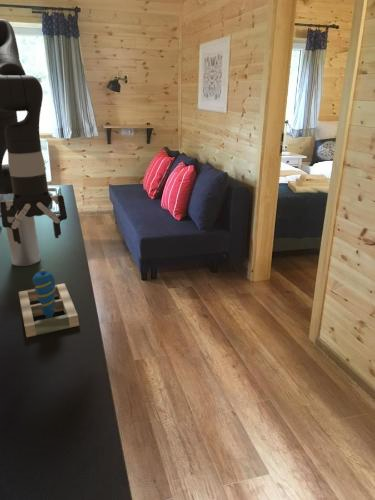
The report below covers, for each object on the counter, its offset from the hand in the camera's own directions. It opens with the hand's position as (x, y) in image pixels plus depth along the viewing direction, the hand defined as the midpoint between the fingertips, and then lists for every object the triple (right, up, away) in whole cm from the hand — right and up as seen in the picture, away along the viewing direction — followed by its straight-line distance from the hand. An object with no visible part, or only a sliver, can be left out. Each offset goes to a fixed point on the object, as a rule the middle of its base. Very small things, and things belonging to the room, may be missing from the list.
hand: (38, 239), depth 100 cm
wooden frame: (-2, -19, +12) cm, 23 cm away
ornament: (0, -21, +8) cm, 22 cm away
